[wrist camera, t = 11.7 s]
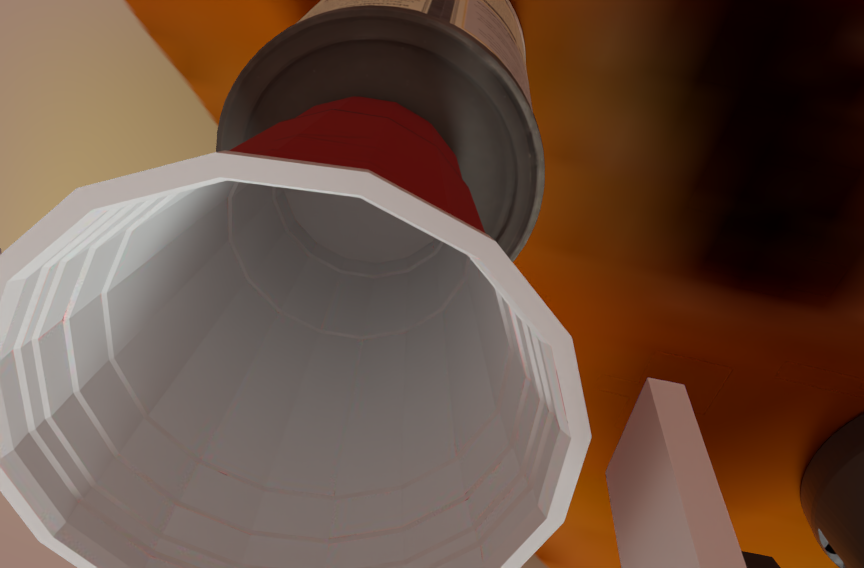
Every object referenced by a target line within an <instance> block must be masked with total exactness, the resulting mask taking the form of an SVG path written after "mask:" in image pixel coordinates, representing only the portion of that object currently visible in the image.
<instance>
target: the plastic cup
mask: <svg viewBox="0 0 864 568" xmlns="http://www.w3.org/2000/svg"><path fill="white" fill-rule="evenodd" d="M591 437H592V436H591V431H590V426H589V420H588V415H587V410H586V405H585V400H584V395H583V390H582V385H581V380H580V375H579V370H578V365H577V360H576V355H575V350H574V345H573V340H572V337H571V336H570V334H569V333H568V332H567V331H566V329H565V328H564V327H563V326H562V324H561V323H560V322H559V321H558V319H557V318H556V317H555V315H554V314H553V313H552V312H551V310H550V309H549V308H548V307H547V305H546V304H545V303H544V302H543V300H542V299H541V298H540V297H539V295H538V294H537V293H536V292H535V290H534V289H533V288H532V287H531V285H530V284H529V283H528V281H527V280H526V279H525V278H524V276H523V275H522V274H521V273H520V271H519V270H518V269H517V268H516V266H515V265H514V264H513V263H512V261H511V260H510V259H509V258H508V256H507V255H506V254H505V252H504V251H503V250H502V249H501V247H500V246H499V245H498V244H497V242H496V241H495V240H494V239H492V238H491V237H490V236H489V235H487V234H486V233H485V231H484V228H483V225H482V223H481V220H480V217H479V214H478V212H477V209H476V206H475V203H474V201H473V198H472V195H471V192H470V190H469V187H468V186H467V184H466V183H465V182H464V181H463V179H462V176H461V172H460V168H459V165H458V161H457V157H456V155H455V154H454V153H453V151H452V150H451V149H450V147H449V146H448V145H447V144H446V142H445V141H444V140H443V138H442V137H441V136H440V134H439V133H438V132H437V131H436V129H435V128H434V127H433V125H432V124H430V123H429V122H428V121H427V120H425V119H423V118H422V117H420V116H418V115H417V114H415V113H413V112H412V111H410V110H408V109H407V108H405V107H403V106H401V105H400V104H398V103H396V102H391V101H385V100H378V99H372V98H366V97H359V96H358V97H356V96H353V97H349V98H345V99H341V100H336V101H332V102H328V103H324V104H320V105H316V106H314V107H312V108H310V109H309V110H307V111H305V112H304V113H302V114H301V115H299V116H297V117H296V118H293V119H289V120H284V121H281V122H279V123H277V124H276V125H274V126H272V127H270V128H268V129H267V130H265V131H263V132H261V133H260V134H258V135H256V136H254V137H252V138H251V139H249V140H247V141H245V142H243V143H242V144H240V145H238V146H236V147H234V148H233V149H231V150H229V151H226V150H225V151H219V152H214V153H211V154H207V155H203V156H199V157H196V158H192V159H188V160H184V161H180V162H176V163H172V164H169V165H164V166H160V167H157V168H153V169H149V170H145V171H141V172H138V173H134V174H130V175H126V176H122V177H118V178H114V179H111V180H107V181H103V182H99V183H95V184H91V185H87V186H83V187H80V188H77V189H76V190H74V191H73V192H72V193H71V194H70V195H68V196H67V197H66V198H65V199H64V200H63V201H62V202H60V203H59V204H58V205H57V206H56V207H55V208H53V209H52V210H51V211H50V212H49V213H48V214H47V215H45V216H44V217H43V218H42V219H41V220H40V221H39V222H37V223H36V224H35V225H34V226H33V227H32V228H30V229H29V230H28V231H27V232H26V233H25V234H24V235H23V236H21V237H20V238H19V239H18V240H17V241H16V242H14V243H13V244H12V245H11V246H10V247H9V248H8V249H6V250H5V251H4V252H3V253H2V254H1V255H0V491H1V493H2V494H3V495H4V496H5V498H6V499H7V500H8V501H9V503H10V504H11V506H12V507H13V508H14V509H15V511H16V512H17V513H18V515H19V516H20V517H21V519H22V520H23V521H24V523H25V524H26V525H27V526H28V528H29V529H30V530H31V532H32V533H33V534H34V536H35V537H36V538H37V539H38V541H39V542H41V543H42V544H44V545H45V546H47V547H48V548H50V549H51V550H52V551H54V552H55V553H57V554H58V555H60V556H61V557H63V558H64V559H66V560H67V561H69V562H70V563H72V564H73V565H75V566H76V567H78V568H520V567H521V566H522V565H523V564H524V563H525V562H526V561H527V560H528V559H529V558H530V557H531V556H532V555H533V554H534V553H535V552H536V551H537V550H538V549H539V548H540V546H541V545H542V544H543V543H544V542H545V541H546V540H547V539H548V538H549V537H550V536H551V535H552V534H553V533H554V532H555V531H556V530H557V529H558V528H559V527H560V526H561V525H562V524H563V523H564V520H565V517H566V514H567V511H568V508H569V505H570V502H571V499H572V496H573V493H574V490H575V486H576V483H577V480H578V477H579V474H580V471H581V468H582V465H583V462H584V459H585V456H586V452H587V449H588V446H589V443H590V440H591Z"/></svg>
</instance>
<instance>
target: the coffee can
mask: <svg viewBox="0 0 864 568" xmlns="http://www.w3.org/2000/svg"><path fill="white" fill-rule="evenodd" d="M353 96H356V97H358V96H359V97H366V98H372V99H378V100H385V101H391V102H396V103H398V104H400V105H401V106H403V107H405V108H407V109H408V110H410V111H412V112H413V113H415V114H417V115H418V116H420V117H422V118H423V119H425V120H427V121H428V122H429V123H430V124H432V125H433V127H434V128H435V129H436V131H437V132H438V133H439V134H440V136H441V137H442V138H443V140H444V141H445V142H446V144H447V145H448V146H449V147H450V149H451V150H452V151H453V153H454V154H455V155H456V157H457V161H458V165H459V168H460V172H461V176H462V179H463V181H464V182H465V183H466V184H467V186H468V187H469V190H470V192H471V195H472V198H473V201H474V203H475V206H476V209H477V212H478V214H479V217H480V220H481V223H482V225H483V228H484V231H485V233H486V234H487V235H489V236H490V237H491V238H492V239H494V240H495V241H496V242H497V244H498V245H499V246H500V247H501V249H502V250H503V251H504V252H505V254H506V255H507V256H508V258H509V259H510V260H511V261H512V262H513V261H514V260H515V259H516V257H517V256H518V254H519V253H520V252H521V250H522V249H523V247H524V246H525V244H526V242H527V240H528V238H529V236H530V234H531V232H532V230H533V228H534V226H535V223H536V221H537V218H538V215H539V211H540V207H541V203H542V197H543V191H544V182H545V166H544V152H543V146H542V141H541V136H540V133H539V129H538V125H537V123H536V120H535V117H534V114H533V110H532V104H531V97H530V91H529V82H528V77H527V71H526V54H525V43H524V38H523V33H522V29H521V26H520V23H519V20H518V17H517V15H516V13H515V10H514V8H513V7H512V5H511V3H510V1H509V0H321V1H320V2H319V3H318V4H316V5H315V6H314V7H313V8H312V9H311V10H310V11H309V12H308V13H307V14H306V15H304V16H303V17H302V18H301V19H300V20H299V21H298V22H297V23H296V24H294V25H292V26H291V27H289V28H287V29H286V30H284V31H283V32H281V33H280V34H278V35H277V36H276V37H274V38H273V39H272V40H271V41H269V42H268V43H267V44H266V45H265V46H263V47H262V48H261V49H260V50H259V51H258V52H257V53H256V55H255V56H254V57H253V58H252V59H251V60H250V61H249V62H248V64H247V65H246V66H245V67H244V69H243V70H242V71H241V73H240V74H239V76H238V78H237V79H236V81H235V83H234V84H233V86H232V88H231V90H230V92H229V94H228V96H227V98H226V100H225V103H224V106H223V110H222V113H221V116H220V121H219V126H218V131H217V146H216V152H219V151H225V150H226V151H229V150H231V149H233V148H234V147H236V146H238V145H240V144H242V143H243V142H245V141H247V140H249V139H251V138H252V137H254V136H256V135H258V134H260V133H261V132H263V131H265V130H267V129H268V128H270V127H272V126H274V125H276V124H277V123H279V122H281V121H284V120H289V119H293V118H296V117H297V116H299V115H301V114H302V113H304V112H305V111H307V110H309V109H310V108H312V107H314V106H316V105H320V104H324V103H328V102H332V101H336V100H341V99H345V98H349V97H353Z"/></svg>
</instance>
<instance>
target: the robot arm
mask: <svg viewBox="0 0 864 568" xmlns="http://www.w3.org/2000/svg"><path fill="white" fill-rule="evenodd" d="M1 254H2V253H1V249H0V255H1ZM606 478H607V484H608V490H609V496H610V502H611V508H612V514H613V520H614V526H615V532H616V538H617V544H618V550H619V556H620V562H621V568H780V567H779V565H778V564H777V563H776V561H775V560H774V559H773V558H772V557H769V556H764V555H759V554H754V553H749V552H743V551H741V549H740V546H739V543H738V541H737V538H736V535H735V532H734V529H733V526H732V523H731V520H730V517H729V514H728V511H727V508H726V505H725V502H724V500H723V497H722V494H721V491H720V488H719V485H718V482H717V479H716V476H715V473H714V470H713V467H712V464H711V461H710V459H709V456H708V453H707V450H706V447H705V444H704V441H703V438H702V435H701V432H700V429H699V426H698V423H697V420H696V418H695V415H694V412H693V409H692V406H691V403H690V400H689V397H688V394H687V391H686V388H685V385H684V384H679V383H674V382H669V381H663V380H658V379H653V378H648V377H647V380H646V382H645V384H644V386H643V389H642V391H641V393H640V395H639V398H638V400H637V402H636V404H635V407H634V409H633V411H632V413H631V416H630V418H629V420H628V422H627V425H626V427H625V429H624V431H623V434H622V436H621V438H620V440H619V443H618V445H617V447H616V449H615V452H614V454H613V456H612V459H611V461H610V463H609V465H608V468H607V470H606ZM801 504H802V508H803V511H804V514H805V516H806V518H807V520H808V522H809V525H810V527H811V529H812V531H813V533H814V536H815V538H816V540H817V542H818V543H819V545H820V546H821V548H822V549H823V551H824V552H825V553H826V554H827V555H828V557H829V558H830V559H831V560H832V561H833V562H834V563H835V564H836V565H837V566H839V567H840V568H864V414H862V415H860V416H859V417H857V418H855V419H854V420H852V421H851V422H849V423H848V424H846V425H845V426H843V427H842V428H841V429H840V430H838V431H837V432H836V433H835V434H833V435H832V436H831V437H830V438H829V439H828V440H827V441H826V442H825V443H824V444H823V445H822V446H821V448H820V449H819V450H818V451H817V453H816V454H815V455H814V457H813V458H812V460H811V462H810V463H809V465H808V467H807V469H806V471H805V474H804V477H803V480H802V485H801Z"/></svg>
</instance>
